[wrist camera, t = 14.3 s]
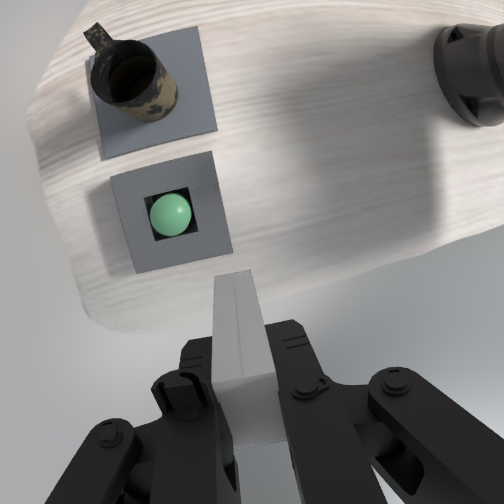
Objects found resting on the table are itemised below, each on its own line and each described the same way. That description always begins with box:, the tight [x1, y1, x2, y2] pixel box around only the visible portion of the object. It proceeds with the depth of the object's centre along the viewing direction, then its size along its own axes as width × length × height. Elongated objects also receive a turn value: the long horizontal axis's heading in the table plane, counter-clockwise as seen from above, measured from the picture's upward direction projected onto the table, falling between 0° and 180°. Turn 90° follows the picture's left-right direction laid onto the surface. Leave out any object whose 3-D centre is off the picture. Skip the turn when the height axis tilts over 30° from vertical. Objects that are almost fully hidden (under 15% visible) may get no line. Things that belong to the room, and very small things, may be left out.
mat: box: [89, 26, 218, 159], centre depth 29 cm, size 12×12×1 cm
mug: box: [84, 22, 179, 122], centre depth 23 cm, size 8×6×12 cm
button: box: [150, 192, 192, 236], centre depth 31 cm, size 4×4×3 cm
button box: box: [110, 151, 233, 274], centre depth 31 cm, size 10×10×4 cm
